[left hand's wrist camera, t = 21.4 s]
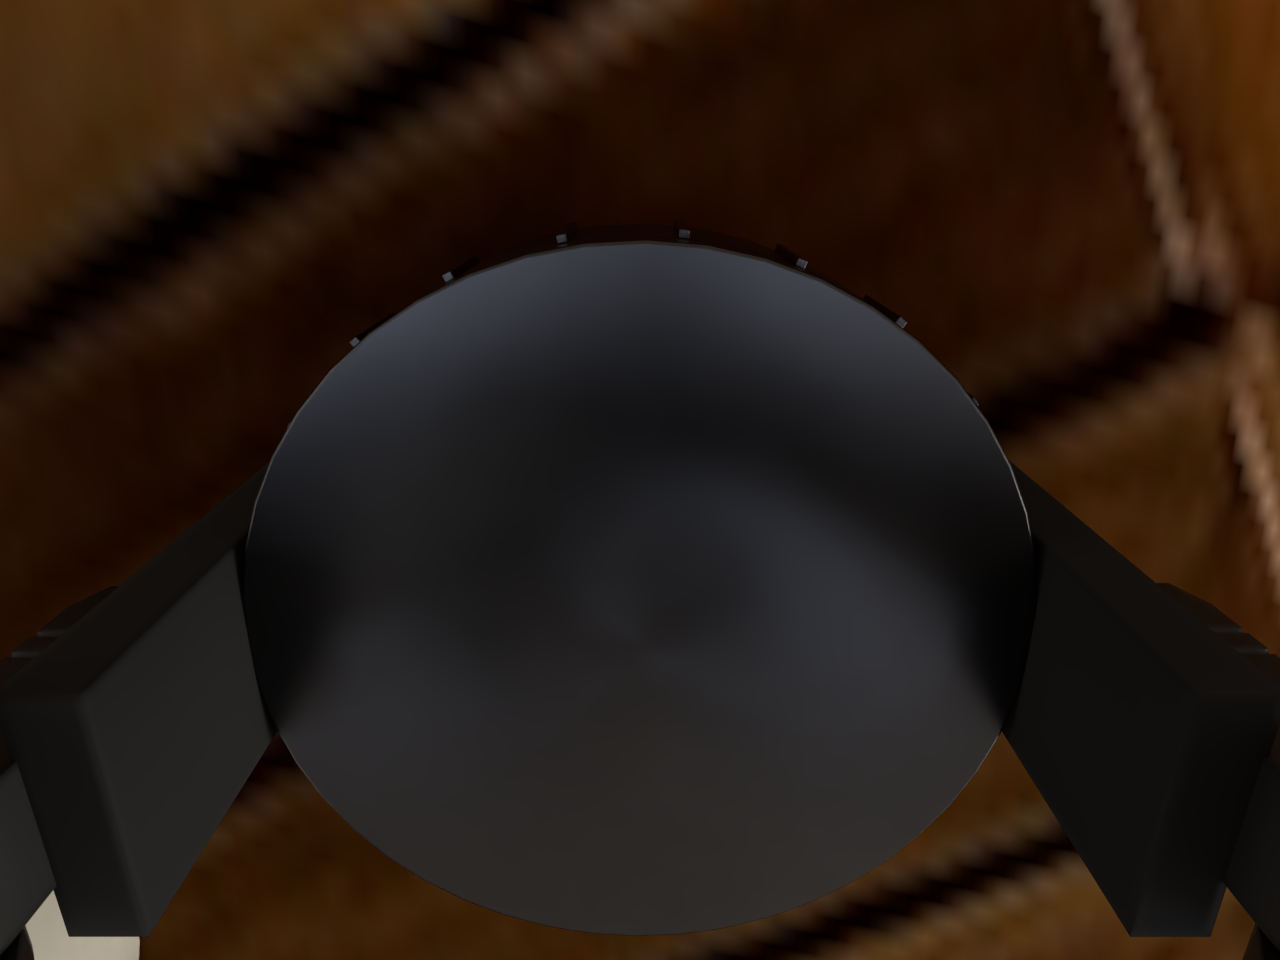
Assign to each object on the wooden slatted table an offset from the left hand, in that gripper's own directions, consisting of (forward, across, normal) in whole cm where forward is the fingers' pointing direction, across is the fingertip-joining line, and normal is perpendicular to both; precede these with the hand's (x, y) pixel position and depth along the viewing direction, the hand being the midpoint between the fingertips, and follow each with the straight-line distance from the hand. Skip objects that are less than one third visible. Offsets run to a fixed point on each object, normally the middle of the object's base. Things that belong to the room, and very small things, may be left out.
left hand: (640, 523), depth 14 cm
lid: (-3, 0, 0) cm, 3 cm away
